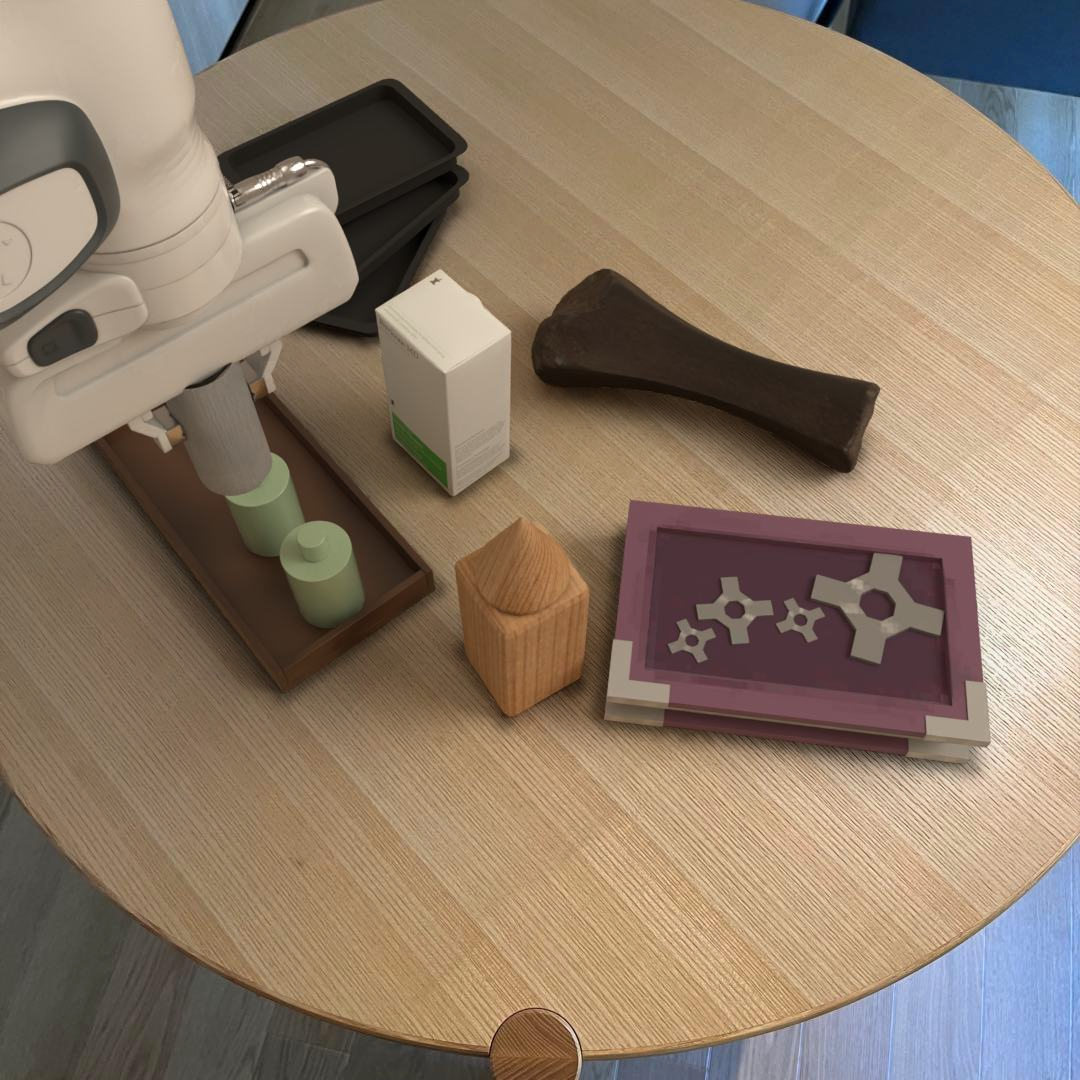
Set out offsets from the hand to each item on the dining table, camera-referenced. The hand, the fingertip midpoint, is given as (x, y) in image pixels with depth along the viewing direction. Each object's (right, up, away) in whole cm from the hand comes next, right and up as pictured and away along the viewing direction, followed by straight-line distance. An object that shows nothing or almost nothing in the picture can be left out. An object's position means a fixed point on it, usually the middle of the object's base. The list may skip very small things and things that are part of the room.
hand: (214, 415), depth 65 cm
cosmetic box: (+12, 0, +28) cm, 30 cm away
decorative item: (+18, -17, +18) cm, 30 cm away
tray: (0, +23, +42) cm, 48 cm away
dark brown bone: (+32, +5, +31) cm, 45 cm away
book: (+37, -15, +18) cm, 44 cm away
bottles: (+1, -9, +21) cm, 23 cm away
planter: (0, -3, +5) cm, 5 cm away
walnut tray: (-4, -5, +25) cm, 25 cm away
